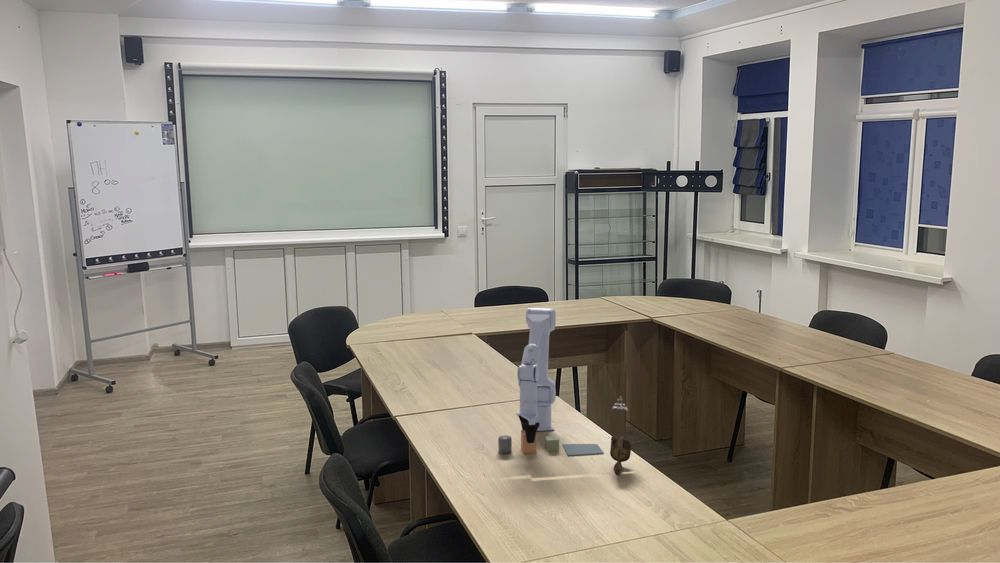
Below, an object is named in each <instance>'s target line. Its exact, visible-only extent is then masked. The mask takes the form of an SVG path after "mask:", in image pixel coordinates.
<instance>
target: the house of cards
mask: <svg viewBox="0 0 1000 563" xmlns="http://www.w3.org/2000/svg"><path fill="white" fill-rule="evenodd" d="M619 401H623V398H622V396H621V395H619V397H618V399H617V402H616V403H614V406H612V410H619V409H620V410H621V411H624V410H625V411H627V412H628V411H629V410H628V407H627V406H626V404H625V403H619Z"/></svg>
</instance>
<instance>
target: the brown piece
mask: <svg viewBox="0 0 1000 563" xmlns="http://www.w3.org/2000/svg"><path fill="white" fill-rule="evenodd" d="M610 438H611V439H610V450H609V456H610V458H612V460H614V461H616V462H615V464H614V465H613V471H614V474H615V476H617V477H618V476H621V474H622V473H623V471H624V468H623V467H624V466H623V465H622V463H623V462H627V461H629V459H630V458H631V453H632V448H633V447H632V442H631V441H630V440H628V439H627V438H625V437H624V436H620V437H617V436H611V437H610Z"/></svg>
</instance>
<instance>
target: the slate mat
mask: <svg viewBox="0 0 1000 563" xmlns="http://www.w3.org/2000/svg"><path fill="white" fill-rule="evenodd" d="M561 446H562V447H563V450H564V451H565V453H566V455H567V456H568V457H574V456H577V457H578V456H592V455H593V456H594V455H604V454H605V453H604V451H603V449H601V447H600V446H599V444H598V443H561Z"/></svg>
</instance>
